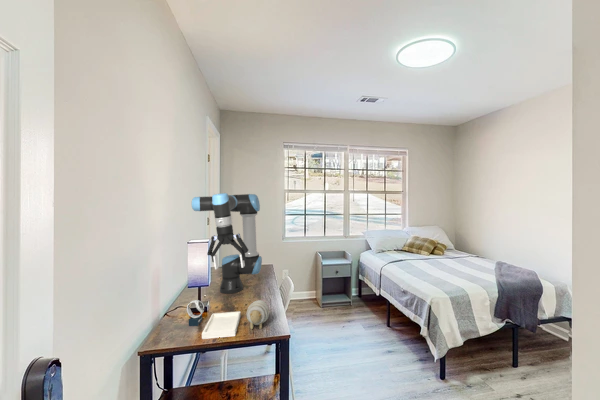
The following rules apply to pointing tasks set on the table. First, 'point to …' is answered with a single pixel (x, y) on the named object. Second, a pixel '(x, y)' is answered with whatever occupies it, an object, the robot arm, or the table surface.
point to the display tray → (221, 325)
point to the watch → (195, 319)
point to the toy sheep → (257, 313)
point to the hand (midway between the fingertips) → (230, 267)
